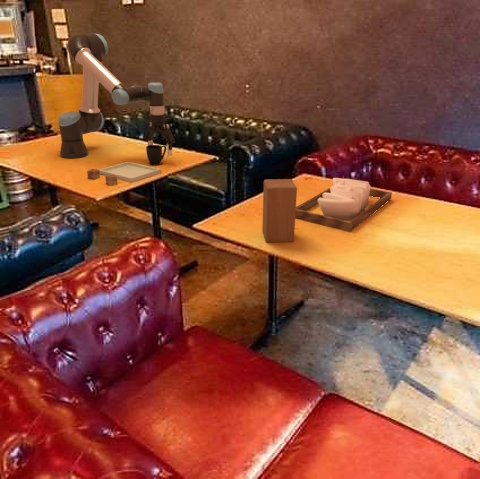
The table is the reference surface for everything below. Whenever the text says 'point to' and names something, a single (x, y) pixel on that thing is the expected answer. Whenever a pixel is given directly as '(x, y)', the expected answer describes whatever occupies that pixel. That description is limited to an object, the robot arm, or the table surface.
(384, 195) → the book corral
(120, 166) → the tray
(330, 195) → the white wavy slab sculpture
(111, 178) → the walnut cube
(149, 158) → the mug
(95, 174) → the walnut cube
